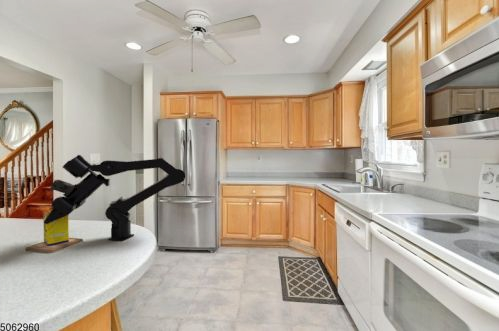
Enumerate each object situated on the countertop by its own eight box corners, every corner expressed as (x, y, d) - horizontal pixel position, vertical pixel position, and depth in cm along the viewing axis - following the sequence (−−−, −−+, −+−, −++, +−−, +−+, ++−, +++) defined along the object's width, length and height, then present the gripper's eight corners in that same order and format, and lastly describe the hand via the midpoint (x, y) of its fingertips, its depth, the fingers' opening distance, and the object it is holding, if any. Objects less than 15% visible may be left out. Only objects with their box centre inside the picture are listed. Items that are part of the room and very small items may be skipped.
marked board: (59, 239, 90) (58, 236, 90) (82, 241, 87) (82, 238, 87) (26, 250, 79) (25, 246, 79) (52, 252, 77) (52, 249, 77)
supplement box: (43, 242, 83) (42, 211, 83) (64, 238, 88) (63, 209, 87) (47, 246, 79) (46, 214, 79) (69, 242, 84) (68, 211, 83)
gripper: (75, 170, 93) (40, 200, 89) (59, 173, 76) (14, 210, 72) (99, 189, 96) (66, 219, 92) (88, 196, 79) (47, 233, 75)
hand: (50, 220), depth 82 cm, fingers open, 9 cm apart
